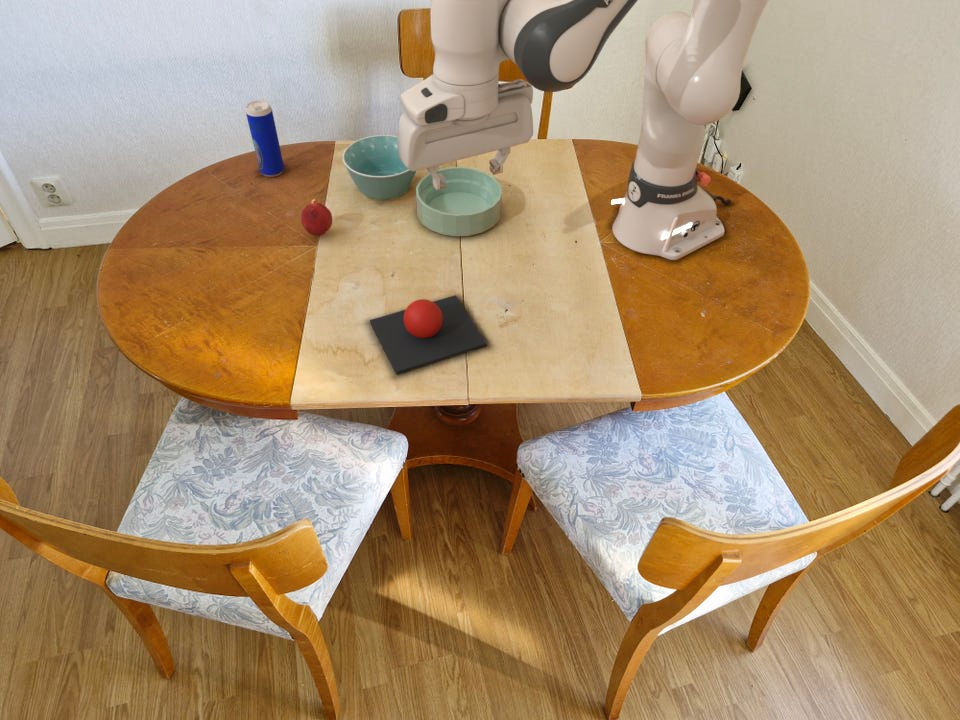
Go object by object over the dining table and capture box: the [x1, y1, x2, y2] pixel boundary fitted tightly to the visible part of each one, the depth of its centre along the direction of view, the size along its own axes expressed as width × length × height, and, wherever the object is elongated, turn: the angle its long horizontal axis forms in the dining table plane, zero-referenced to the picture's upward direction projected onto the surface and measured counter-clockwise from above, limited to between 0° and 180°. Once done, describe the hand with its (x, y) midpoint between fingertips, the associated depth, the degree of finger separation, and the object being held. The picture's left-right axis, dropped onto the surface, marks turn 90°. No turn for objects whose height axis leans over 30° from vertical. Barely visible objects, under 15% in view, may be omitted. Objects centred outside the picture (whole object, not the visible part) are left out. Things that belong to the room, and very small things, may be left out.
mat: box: [369, 295, 488, 376], centre depth 116 cm, size 16×13×1 cm
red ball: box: [404, 298, 443, 338], centre depth 114 cm, size 6×6×6 cm
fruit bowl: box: [415, 166, 503, 237], centre depth 139 cm, size 17×17×6 cm
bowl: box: [342, 134, 417, 202], centre depth 143 cm, size 16×16×8 cm
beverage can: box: [245, 99, 285, 178], centre depth 144 cm, size 5×5×15 cm
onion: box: [300, 198, 333, 237], centre depth 132 cm, size 6×6×8 cm
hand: (468, 179), depth 105 cm, fingers open, 8 cm apart
